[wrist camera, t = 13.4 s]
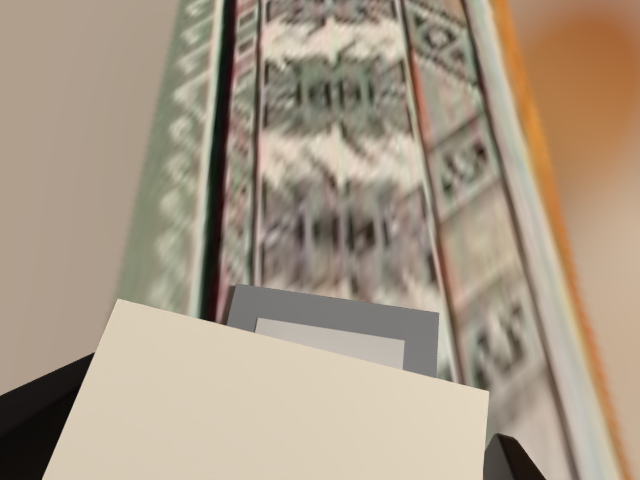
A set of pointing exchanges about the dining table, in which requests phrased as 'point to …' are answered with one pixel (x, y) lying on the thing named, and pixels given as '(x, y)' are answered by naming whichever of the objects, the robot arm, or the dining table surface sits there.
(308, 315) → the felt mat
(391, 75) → the dining table surface
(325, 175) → the dining table surface
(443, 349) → the dining table surface
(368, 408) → the cream block
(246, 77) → the dining table surface
